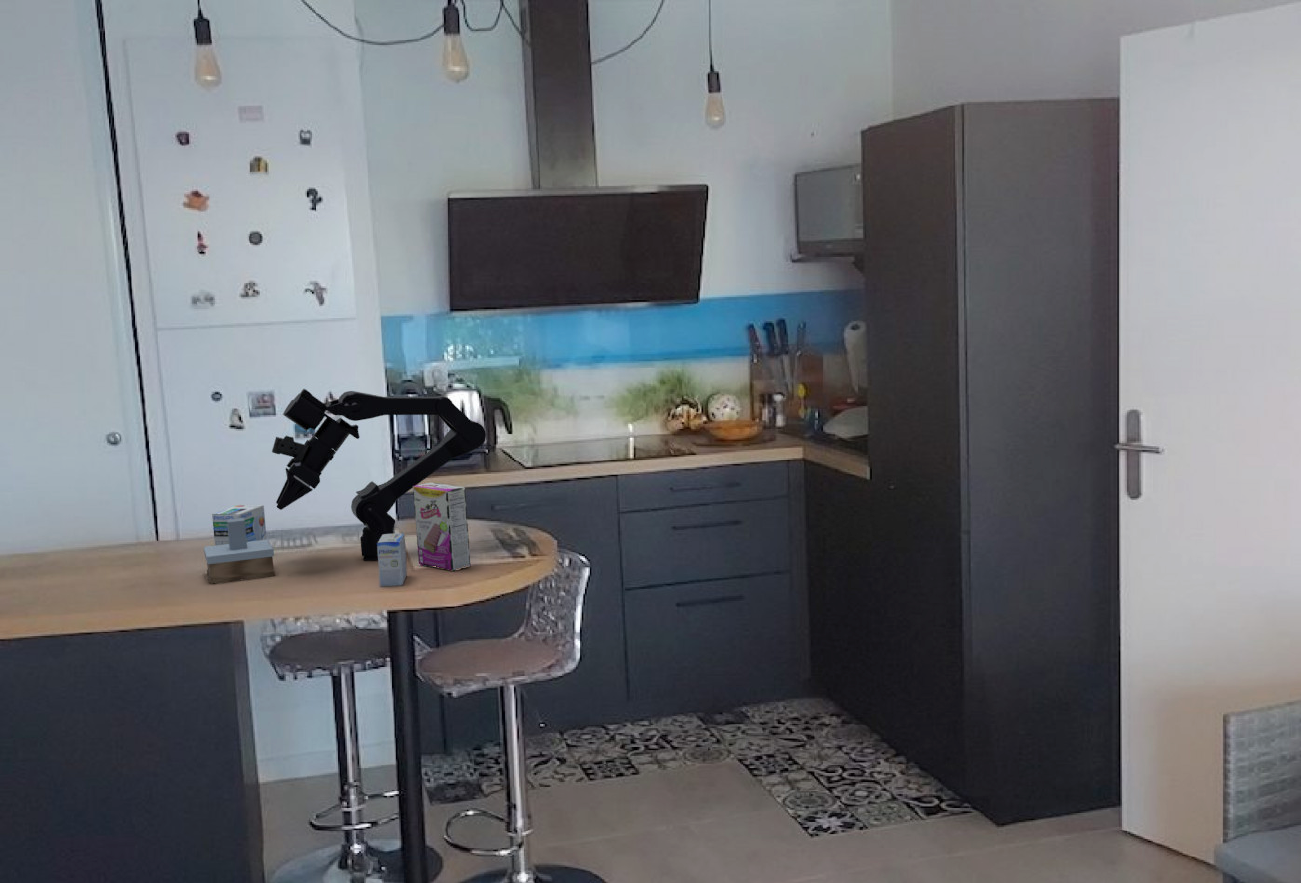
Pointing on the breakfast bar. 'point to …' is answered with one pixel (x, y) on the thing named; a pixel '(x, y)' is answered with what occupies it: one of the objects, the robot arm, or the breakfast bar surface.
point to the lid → (238, 546)
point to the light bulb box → (252, 523)
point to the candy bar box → (441, 525)
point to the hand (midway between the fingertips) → (278, 506)
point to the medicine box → (392, 559)
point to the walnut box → (240, 570)
